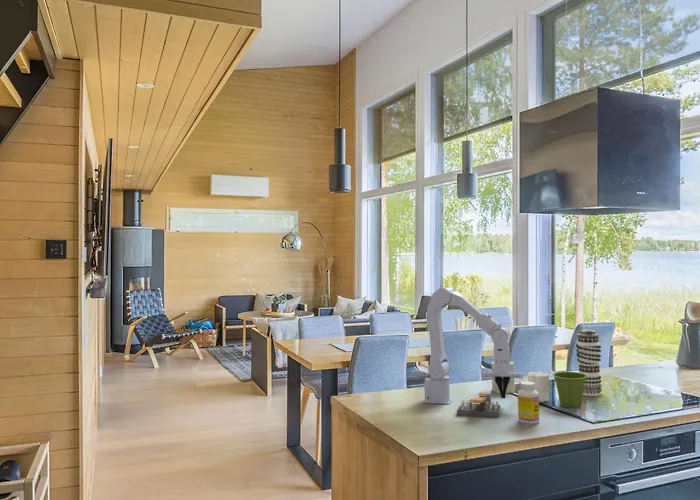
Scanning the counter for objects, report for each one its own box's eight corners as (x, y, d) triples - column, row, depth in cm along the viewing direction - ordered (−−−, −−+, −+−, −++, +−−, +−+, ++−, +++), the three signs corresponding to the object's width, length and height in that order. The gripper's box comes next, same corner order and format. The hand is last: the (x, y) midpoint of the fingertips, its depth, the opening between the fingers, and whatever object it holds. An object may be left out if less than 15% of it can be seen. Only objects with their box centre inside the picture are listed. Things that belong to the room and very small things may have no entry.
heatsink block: (457, 415, 198) (457, 404, 198) (461, 408, 208) (460, 397, 208) (498, 417, 194) (498, 406, 194) (500, 410, 203) (500, 399, 203)
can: (518, 389, 234) (516, 360, 234) (511, 394, 226) (510, 364, 227) (496, 387, 239) (495, 358, 239) (488, 392, 231) (487, 362, 232)
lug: (479, 407, 207) (478, 392, 207) (480, 404, 212) (480, 389, 212) (490, 408, 206) (490, 393, 206) (491, 405, 210) (491, 390, 210)
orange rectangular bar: (470, 404, 194) (470, 399, 194) (475, 401, 209) (475, 396, 209) (482, 404, 193) (482, 400, 193) (486, 401, 207) (486, 397, 208)
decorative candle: (590, 397, 218) (588, 332, 218) (572, 392, 226) (570, 329, 227) (608, 394, 222) (605, 330, 222) (589, 389, 230) (587, 328, 231)
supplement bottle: (536, 425, 184) (535, 385, 184) (516, 423, 188) (514, 384, 188) (541, 420, 190) (540, 381, 190) (521, 417, 193) (520, 380, 193)
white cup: (551, 403, 211) (550, 376, 212) (529, 402, 213) (528, 375, 213) (548, 397, 219) (547, 372, 219) (527, 397, 221) (526, 371, 221)
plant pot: (548, 406, 206) (547, 375, 207) (561, 400, 215) (560, 370, 215) (581, 411, 198) (579, 379, 199) (593, 404, 207) (592, 373, 207)
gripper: (480, 361, 206) (481, 399, 206) (522, 362, 202) (523, 401, 202) (482, 358, 213) (483, 394, 213) (522, 359, 208) (524, 396, 208)
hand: (503, 397), depth 208 cm, fingers closed
